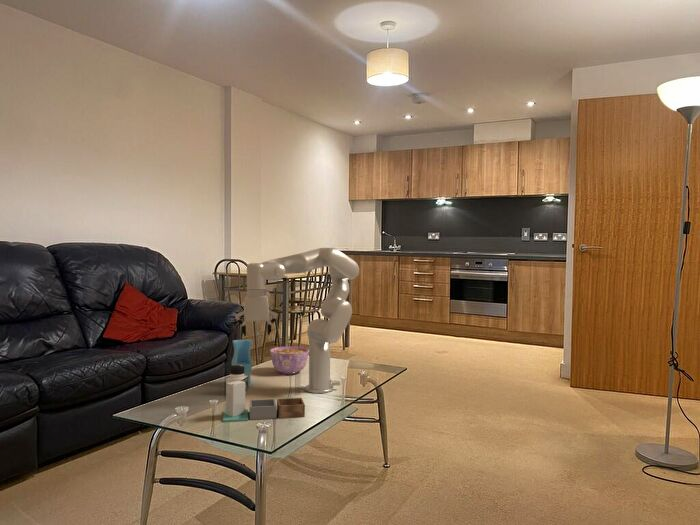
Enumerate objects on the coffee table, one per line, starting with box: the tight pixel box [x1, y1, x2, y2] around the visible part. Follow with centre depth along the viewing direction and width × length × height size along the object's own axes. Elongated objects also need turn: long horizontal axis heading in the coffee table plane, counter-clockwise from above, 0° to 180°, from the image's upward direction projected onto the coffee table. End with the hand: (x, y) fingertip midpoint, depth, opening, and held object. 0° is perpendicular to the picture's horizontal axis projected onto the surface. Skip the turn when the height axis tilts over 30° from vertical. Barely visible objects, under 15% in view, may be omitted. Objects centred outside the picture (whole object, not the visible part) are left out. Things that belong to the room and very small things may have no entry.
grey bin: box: [248, 398, 277, 421], centre depth 196 cm, size 10×10×4 cm
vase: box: [231, 339, 253, 387], centre depth 241 cm, size 8×8×20 cm
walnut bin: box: [276, 397, 306, 419], centre depth 199 cm, size 10×10×4 cm
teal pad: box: [222, 408, 249, 423], centre depth 194 cm, size 9×12×1 cm
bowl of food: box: [269, 346, 309, 375], centre depth 265 cm, size 20×20×12 cm
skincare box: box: [225, 380, 246, 417], centre depth 194 cm, size 6×4×12 cm
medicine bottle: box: [225, 365, 249, 394], centre depth 226 cm, size 7×7×12 cm
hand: (256, 334), depth 214 cm, fingers open, 9 cm apart
